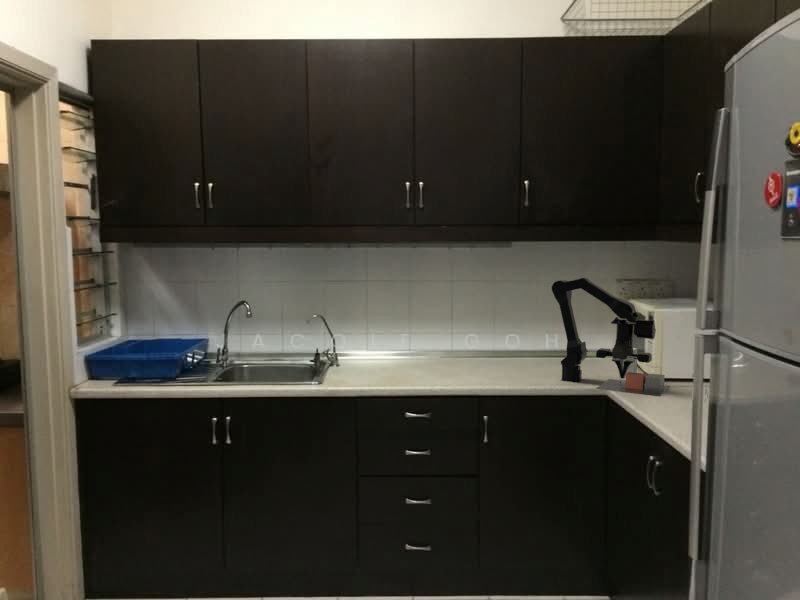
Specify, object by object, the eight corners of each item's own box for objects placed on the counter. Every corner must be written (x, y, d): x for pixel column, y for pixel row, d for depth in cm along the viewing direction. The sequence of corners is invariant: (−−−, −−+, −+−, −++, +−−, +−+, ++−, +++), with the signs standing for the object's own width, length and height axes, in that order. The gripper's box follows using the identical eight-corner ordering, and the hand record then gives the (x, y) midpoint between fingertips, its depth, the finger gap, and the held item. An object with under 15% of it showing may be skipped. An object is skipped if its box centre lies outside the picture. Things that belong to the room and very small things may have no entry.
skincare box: (636, 378, 253) (637, 348, 252) (634, 379, 250) (635, 349, 249) (621, 376, 257) (622, 346, 256) (618, 378, 253) (619, 348, 252)
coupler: (595, 390, 231) (595, 375, 231) (609, 380, 248) (609, 366, 248) (659, 398, 220) (660, 382, 219) (669, 387, 237) (670, 372, 236)
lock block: (625, 387, 233) (625, 374, 233) (628, 385, 237) (629, 371, 237) (642, 389, 230) (643, 376, 229) (645, 387, 234) (646, 373, 234)
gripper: (592, 336, 232) (591, 379, 234) (646, 341, 223) (644, 385, 224) (600, 333, 242) (599, 373, 243) (652, 337, 232) (650, 380, 234)
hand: (622, 378), depth 236 cm, fingers closed
